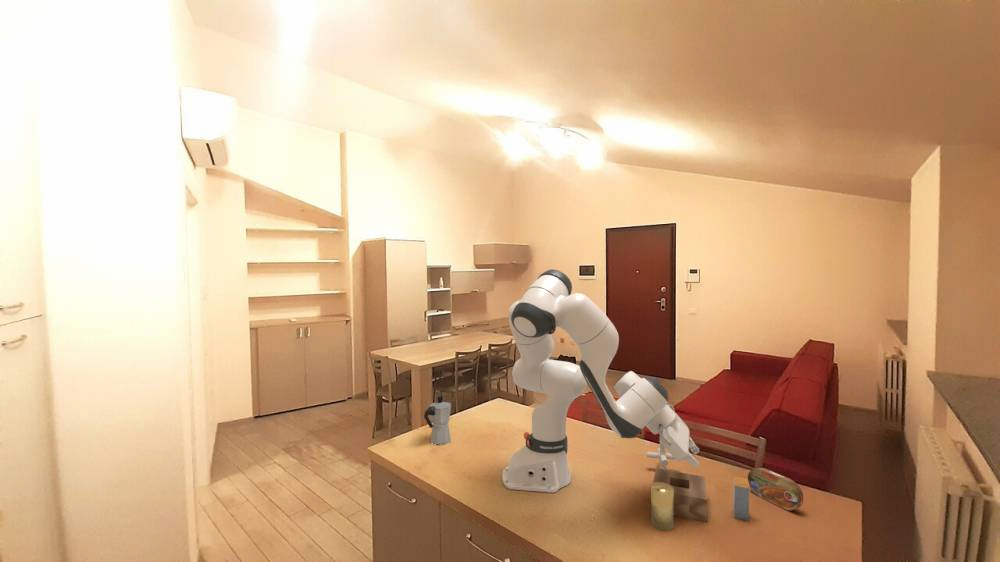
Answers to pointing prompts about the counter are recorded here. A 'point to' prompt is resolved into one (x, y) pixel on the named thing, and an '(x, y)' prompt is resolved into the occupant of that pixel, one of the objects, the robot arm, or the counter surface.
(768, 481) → the tin
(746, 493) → the square bit
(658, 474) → the bore block
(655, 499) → the yellow candle
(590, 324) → the robot arm
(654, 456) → the pipe connector
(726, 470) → the counter surface
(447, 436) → the coffee maker
